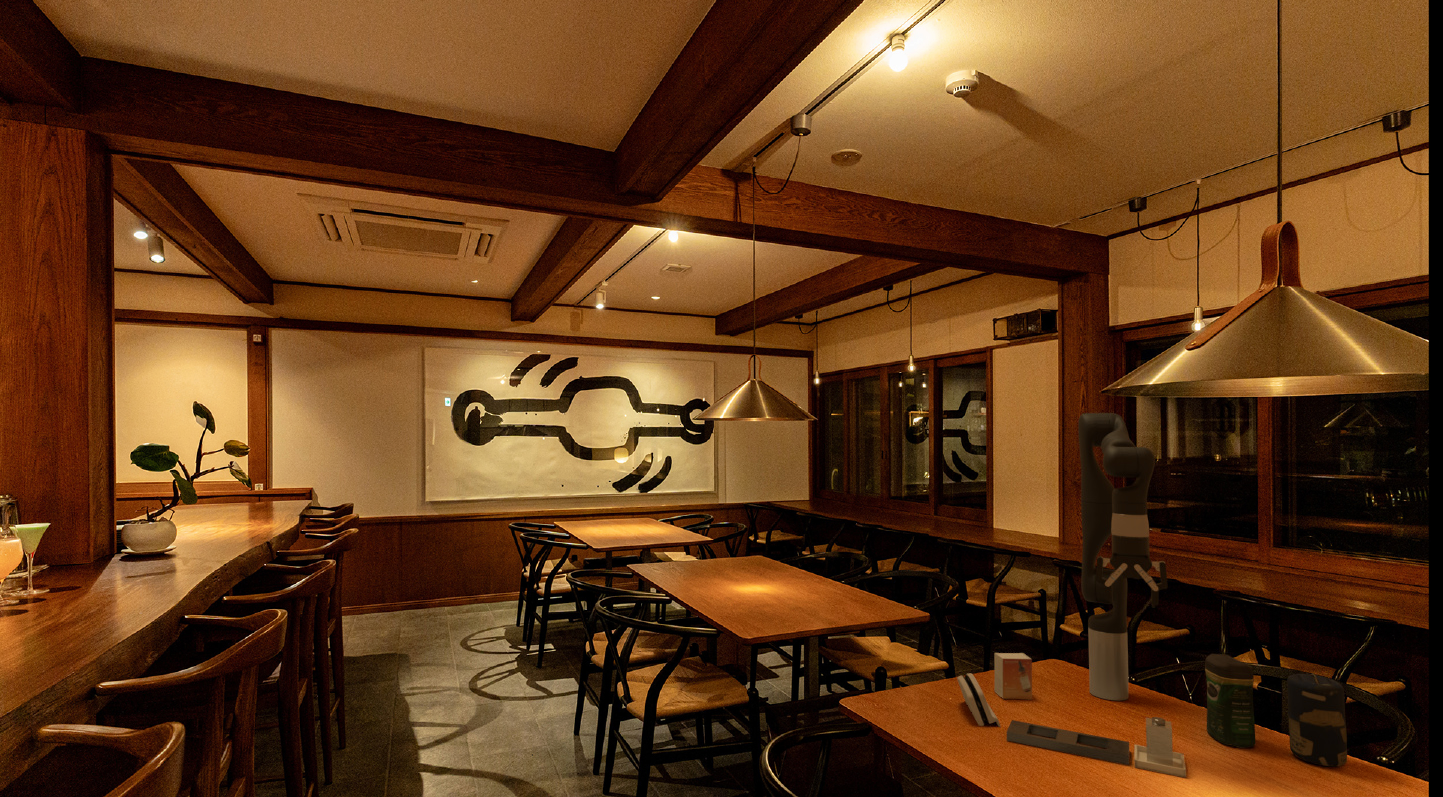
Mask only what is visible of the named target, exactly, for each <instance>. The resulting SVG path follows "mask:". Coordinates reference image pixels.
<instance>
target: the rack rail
mask: <svg viewBox="0 0 1443 797" xmlns="http://www.w3.org/2000/svg"><path fill="white" fill-rule="evenodd" d="M1044 736H1045V737H1044ZM1049 737H1050V738H1049ZM1006 742H1011V743H1017V744H1020V745H1021V744H1023V745H1026V746H1031V747H1036V748H1042V749H1046V750H1050V751H1051V750H1052V751H1056V752H1061V753H1065V754H1070V755H1071V754H1072V755H1077V756H1081V757H1085V758H1090V759H1095V760H1100V761H1105V762H1111V763H1116V764H1120V765H1125V766H1130V742H1129V741H1127V740H1121V739H1115V738H1111V737H1105V736H1100V735H1095V734H1094V735H1093V734H1089V733H1084V732H1080V731H1079V732H1078V731H1072V730H1067V729H1063V728H1057V727H1052V726H1048V725H1047V726H1046V725H1041V724H1037V723H1036V724H1034V723H1030V722H1025V721H1020V720H1015V719H1011V721H1010V723H1009V726H1008V728H1007V729H1006Z"/></svg>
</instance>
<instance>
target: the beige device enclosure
mask: <svg viewBox="0 0 1443 797" xmlns="http://www.w3.org/2000/svg"><path fill="white" fill-rule="evenodd" d="M956 679H957V682H958V685H959V688H960V691H961V693H962V696H963V699H964V702H965V704H966V705H968V706H967V708H969V710H970V713H971V712H972V713H971V714H972V716H973V718H974V720H975V722H976V724H977V725H978V726H979V727H983V726H985V724H986V723H989V724H993V723H996V725H997V727H999V728H1000V727H1002V726H1001V723H1000V721H999V718H998V717H997V715H996V713H994V711H993V709H992V708H991V705H990V704H989V703H988V701H987V699H986V696H985V694H984V692H983V690H982V687H981V686H980V685H979V684H980V683H979V682H978V681H977V679H976V677H975V676H974V675H973V673H969V672H968V673H965V675H962V674H961V675H959V676H957V677H956ZM985 721H986V722H985Z"/></svg>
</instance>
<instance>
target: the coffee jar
mask: <svg viewBox="0 0 1443 797" xmlns="http://www.w3.org/2000/svg"><path fill="white" fill-rule="evenodd" d="M1204 671H1205V676H1206V677H1205V678H1206V698H1207V699H1206V731H1207V734H1209V736H1210V737H1212V738H1214V740H1216V741H1218V742H1220V743H1221V744H1223V745H1228V746H1232V747H1236V748H1239V749H1240V748H1241V749H1243V748H1244V749H1246V748H1251V747H1255V745H1256V744H1257V740H1256V739H1257V738H1256V726H1255V714H1254V713H1255V712H1254V696H1253V691H1254V690H1253V689H1254V684H1255V683H1254V682H1255V678H1254V672H1253V671H1254V669H1253V667H1252V666H1251V665H1249V664H1248V663H1245V662H1243V661H1241V660H1239V659H1236V658H1235V657H1232V656H1230V655H1229V654H1224V653H1222V654H1221V653H1210V654H1209V655H1207V656H1206V658H1205V664H1204Z"/></svg>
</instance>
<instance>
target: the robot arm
mask: <svg viewBox="0 0 1443 797" xmlns="http://www.w3.org/2000/svg"><path fill="white" fill-rule="evenodd" d="M1077 423H1078V425H1077V426H1078V427H1077V431H1078V443H1079V444H1078V445H1079V456H1080V457H1079V458H1080V459H1079V460H1080V471H1081V472H1080V473H1081V477H1080V478H1081V481H1080V482H1081V485H1080V489H1081V490H1080V509H1081V512H1080V513H1081V531H1082V532H1081V533H1082V534H1081V535H1082V553H1081V554H1082V557H1081V559H1082V560H1081V580H1080V581H1081V582H1080V584H1081V593H1082V597H1083V598H1084V600H1085V601H1086V602H1091V603H1099V604H1104V605H1105V604H1106V605H1112V608H1111V609H1110V610H1108V611H1105V612H1101V613H1097V614H1092V615H1090V616H1089V617H1088V621H1087V627H1088V629H1087V630H1088V634H1087V635H1088V665H1089V666H1088V667H1089V668H1088V669H1089V670H1088V672H1089V674H1088V675H1089V676H1088V677H1089V678H1088V680H1089V682H1088V683H1089V693H1090V694H1091V695H1092V696H1095V697H1097V698H1099V699H1103V700H1109V701H1110V700H1111V701H1126V700H1128V699H1129V653H1128V650H1129V649H1128V647H1129V646H1128V621H1127V620H1128V619H1127V618H1128V617H1127V614H1128V612H1127V611H1128V610H1127V607H1128V606H1127V605H1128V603H1127V602H1128V579H1130V578H1131V579H1134V580H1140V579H1143V580H1144V582H1145V583H1147V585H1148V586H1149V587H1150V594H1151V608H1154V609H1155V608H1156V606H1158V605H1159V602H1160V601H1159V600H1160V599H1159V598H1160V596H1159V595H1160V594H1159V592H1160V591H1163V590H1167V589H1169V588H1168V587H1169V586H1168V576H1167V565H1166V562H1165V561H1164V560H1160V561H1152V560H1151V558H1150V527H1149V526H1150V523H1149V519H1148V491H1149V487H1150V482H1151V479H1152V476H1153V473H1154V470H1155V466H1156V457H1155V455H1154V453H1153V452H1152V450H1151V449H1150V448H1148V447H1144V446H1143V447H1142V446H1136V445H1135V444H1134V442H1133V441H1132V440H1131V439H1130V436H1129V432H1128V428H1127V426H1126V422H1125V420H1124V419H1123V417H1122V416H1121V415H1120V414H1117V413H1115V412H1088V413H1086V412H1085V413H1082V414H1080V415H1079V418H1078V422H1077ZM1096 447H1097V448H1100V449H1101V452H1102V454H1103V457H1102V466H1103V470H1104V472H1105V473H1106V474H1107V475H1108V476H1111V477H1114V478H1115V477H1116V478H1135V481H1134V482H1133V483H1132V484H1131V485H1127V486H1123V487H1122V486H1121V487H1117V488H1115V486H1114V485H1113V484H1112V482H1111V481H1110V480H1109V479H1108V477H1107V476H1106V474H1105V473H1104V472H1103V470H1102V469H1101V467H1100V465H1099V462H1098V461H1097V459H1096V457H1095V453H1094V448H1096ZM1110 537H1111V557H1103V556H1101V555H1099V553H1100V551H1101V550H1102V547H1103V546H1104V545H1105V543H1106V542H1107V540H1108V539H1109V538H1110ZM1098 555H1099V556H1098ZM1107 564H1110V565H1111V566H1112V567H1113V569H1111V568H1106V567H1107ZM1153 567H1154V568H1155V571H1157V572H1159V576H1160V582H1159V583H1156V582H1155V580H1154V579H1153V577H1152V576H1151V575H1149V573H1148V572H1149V571H1150V570H1151V569H1152V568H1153Z"/></svg>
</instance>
